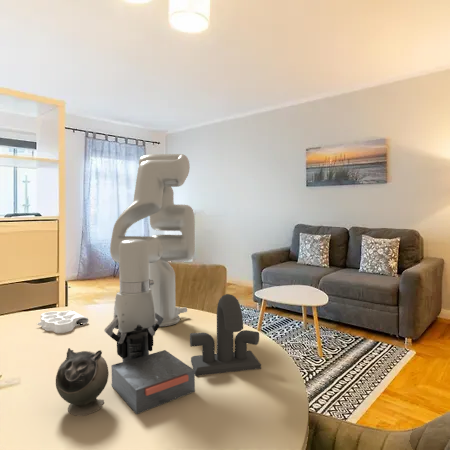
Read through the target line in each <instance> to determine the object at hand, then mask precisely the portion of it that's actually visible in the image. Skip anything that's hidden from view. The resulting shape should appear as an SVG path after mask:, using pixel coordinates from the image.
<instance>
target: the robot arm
mask: <svg viewBox="0 0 450 450" xmlns="http://www.w3.org/2000/svg"><path fill="white" fill-rule="evenodd" d="M189 173H190V159H189V158H188V156H187V155H186V154H181V153H150V154H145V155H143V156H141V157H140V158H139V160H138V167H137V175H136V180H135V181H136V182H135V189H134V194H133V200H132V203H131V204H130V205H129V206H128V207H127V208H126V209H125V210H124V211H122V212H121V214H120V215H119V216H118V218H117V219H116V221H115V223H114V225H113V227H112V228H113V229H112V234H111V240H110V247H109V252H110V257H111V259H112V260H114V262H116V263H118V268H119V272H118V273H119V292H116V294H115V298H114V299H115V300H114V307H113V320H112V321H111V322H109V324H108V325H107V326H106V327H105V328H104V333H105V334H107V335H108V336H109V337H110V339H112V340H114V341H115V342H116V353H117V356H119V357H120V358H121V359H122V360H123V359H124V358H126V345H125V343H124V339H125V337H126V334H127V333H128V332H132V331H135V330H134V329H135V328H137V325H139V326H140V325H141V327H143V328H142V329H146V330H147V331H148V338H149V352H153V346H154V336H156V332H157V331H158V329H159V328H160V327H169V326H174V325H175V324H176V325H177V324H178V323H179V322H180V320H181V319H180V318H181V317H180V314H185V313H187V312H188V308H187V307H186V306H185V307H181V306H176V272H175V270H174V268H173V266H172V265H171V264H170V263H169V262H189V261H191V260H193V259H194V257H195V249H196V248H195V246H196V245H195V242H196V241H195V232H196V231H195V230H196V229H195V212H194V209H193V208H192V206H190V205H188V204H175V203H174V194H175V193H174V190H173V188H174V187H182V186H183V185H184V184H185V182H186V180H187V178H188V176H189ZM148 217H149V224H150V225H149V226H150V227H151V229H152V230H154V231H159V232H163V231H164V232H166V231H167V232H180V233H181V234H153V235H148V236H143V235H137V236H135V235H132V236H131V235H127V232H128V230H129V228H131V227H132V226H133V225H134V224H136V223H137V222H139V221H142V220H143V219H146V218H148ZM114 329H116V330H118V331H117V333H115V332H114Z"/></svg>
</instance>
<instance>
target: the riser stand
mask: <svg viewBox="0 0 450 450" xmlns="http://www.w3.org/2000/svg"><path fill="white" fill-rule="evenodd" d="M195 377H196V376H195V370H194V369H193V367H190V365H188V364H186V363H185V362H183V360H180V359H179V358H177V357H176V356H175V355H173V354H172V353H170V352H169V351H167V350H166V349H164V350H160V351H157V352H153V353H149V355H146V356H142V357H139V358H135V359H132V360H128V361H125V362H123V361H122V362H117V363H115V364H111V387H112V388H113V389H114V390H115V392H116V393H117V394H118V395H119V396H120V397H121V398H122V400H123V401H124V402H125V403H126V404H127V406H129V408H131V410H132V411H133V412H134V413H135V415H138V414H140V413H143V412H146V411H148V410H151V409H153V408H157V407H158V406H161V405H163V404H164V405H165V404H166V403H169V402H172V401H174V400H177V399H179V398H181V397H182V398H183V397H184V396H187V395H190V394H192V393H194V392H195V391H196V386H195V384H196V383H195V381H196V380H195V379H196V378H195Z"/></svg>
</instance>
